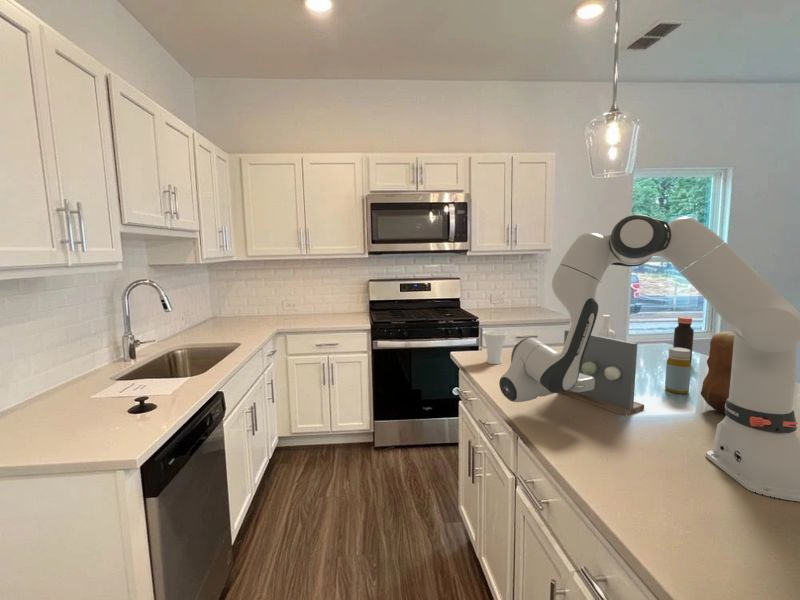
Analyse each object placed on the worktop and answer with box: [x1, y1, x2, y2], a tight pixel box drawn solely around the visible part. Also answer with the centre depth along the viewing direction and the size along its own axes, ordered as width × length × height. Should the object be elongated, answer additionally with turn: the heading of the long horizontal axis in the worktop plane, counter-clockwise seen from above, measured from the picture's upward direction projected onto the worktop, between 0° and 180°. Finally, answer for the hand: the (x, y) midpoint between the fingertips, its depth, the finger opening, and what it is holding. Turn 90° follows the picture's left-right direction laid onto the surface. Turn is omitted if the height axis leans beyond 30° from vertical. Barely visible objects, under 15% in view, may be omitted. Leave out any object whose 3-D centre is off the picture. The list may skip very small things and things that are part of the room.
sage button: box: [582, 361, 598, 375], centre depth 131 cm, size 2×4×4 cm, turn 30°
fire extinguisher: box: [596, 314, 616, 339], centre depth 154 cm, size 7×12×25 cm, turn 157°
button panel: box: [560, 329, 645, 417], centre depth 134 cm, size 10×24×22 cm, turn 30°
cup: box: [482, 329, 508, 365], centre depth 181 cm, size 10×10×14 cm
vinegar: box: [672, 316, 695, 363], centre depth 175 cm, size 7×7×20 cm
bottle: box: [664, 346, 692, 395], centre depth 142 cm, size 7×7×15 cm
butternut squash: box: [700, 331, 735, 414], centre depth 122 cm, size 14×13×25 cm
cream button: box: [604, 366, 621, 380], centre depth 126 cm, size 2×4×4 cm, turn 30°
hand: (576, 371), depth 128 cm, fingers closed
